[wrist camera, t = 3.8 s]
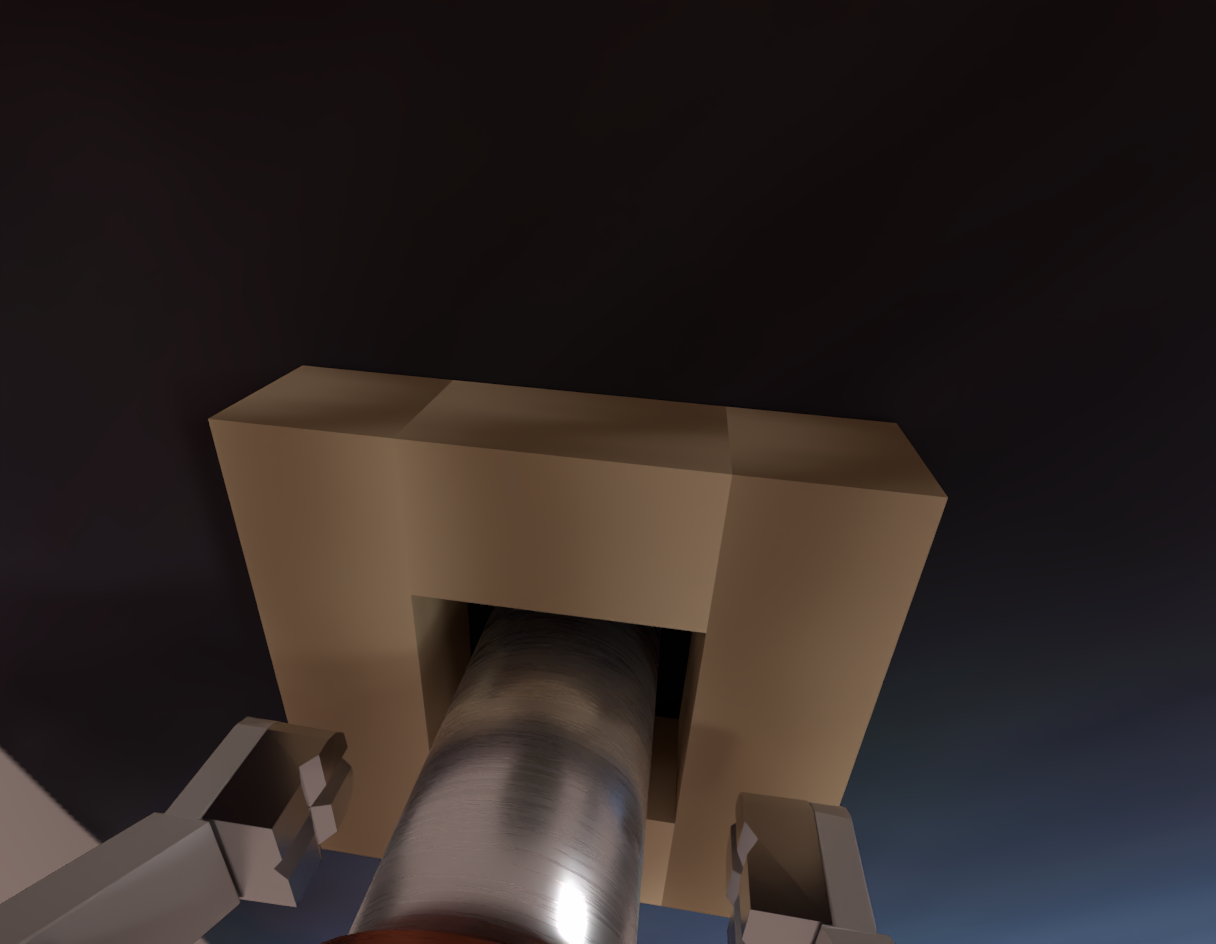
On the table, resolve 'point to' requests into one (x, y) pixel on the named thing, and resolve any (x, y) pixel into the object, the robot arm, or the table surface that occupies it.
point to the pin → (528, 794)
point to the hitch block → (579, 576)
